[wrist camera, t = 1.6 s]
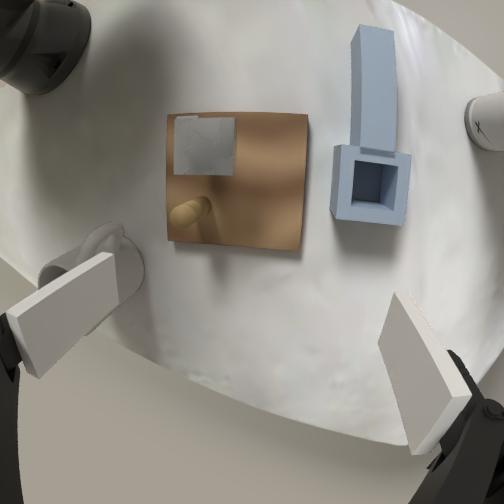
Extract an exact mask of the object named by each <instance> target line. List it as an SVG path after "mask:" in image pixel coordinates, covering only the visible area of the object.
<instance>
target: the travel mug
mask: <svg viewBox="0 0 504 504" xmlns="http://www.w3.org/2000/svg"><path fill="white" fill-rule="evenodd" d="M465 124H466V128H467V131H468V134H469V135H470V137H471V139H472V140H473V142H474V143H475V144H476V145H477V146H479V147H480V148H482V149H484V150H492V151H504V91H503V92H498V93H494V94H490V95H485V96H481V97H477V98H474V99H472V100H471V101H470V102H469V103H468V104H467V107H466V110H465Z"/></svg>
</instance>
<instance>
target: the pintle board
mask: <svg viewBox="0 0 504 504" xmlns="http://www.w3.org/2000/svg"><path fill="white" fill-rule="evenodd" d="M195 115H198V116H201V117H203V118H218V117H235V118H237V119H238V127H237V154H236V175H233V176H228V175H174V125H175V119H176V117H177V116H195ZM307 127H308V115H306V114H291V113H271V112H207V113H186V114H172V115H168V117H167V151H166V197H167V232H168V241H178V242H191V243H203V244H216V245H228V246H241V247H253V248H266V249H278V250H290V251H299V248H300V237H301V225H302V212H303V198H304V184H305V167H306V149H307Z"/></svg>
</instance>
